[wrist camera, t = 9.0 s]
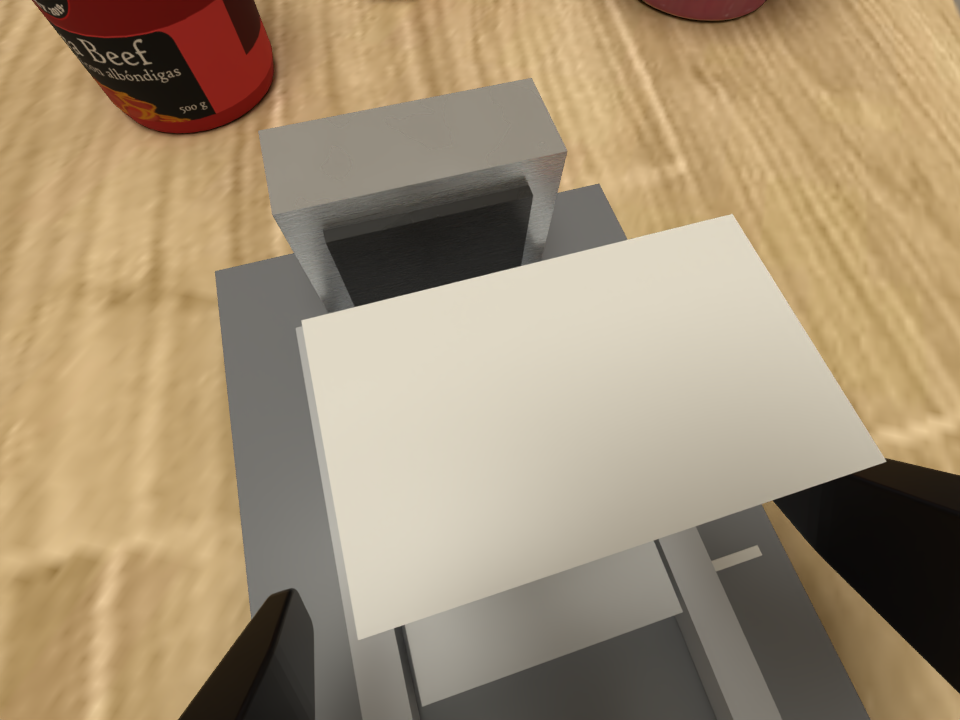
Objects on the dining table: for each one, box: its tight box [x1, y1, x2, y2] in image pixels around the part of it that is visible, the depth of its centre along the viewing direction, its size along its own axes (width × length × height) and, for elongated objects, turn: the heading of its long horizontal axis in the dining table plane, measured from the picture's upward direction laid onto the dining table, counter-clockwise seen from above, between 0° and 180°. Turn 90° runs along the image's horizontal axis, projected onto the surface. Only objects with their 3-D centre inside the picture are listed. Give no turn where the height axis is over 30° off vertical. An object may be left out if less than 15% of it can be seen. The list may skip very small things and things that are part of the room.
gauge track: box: [215, 184, 870, 720], centre depth 15 cm, size 22×16×2 cm
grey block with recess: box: [258, 78, 567, 313], centre depth 16 cm, size 3×8×6 cm, turn 107°
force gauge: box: [301, 214, 887, 707], centre depth 10 cm, size 8×10×11 cm
